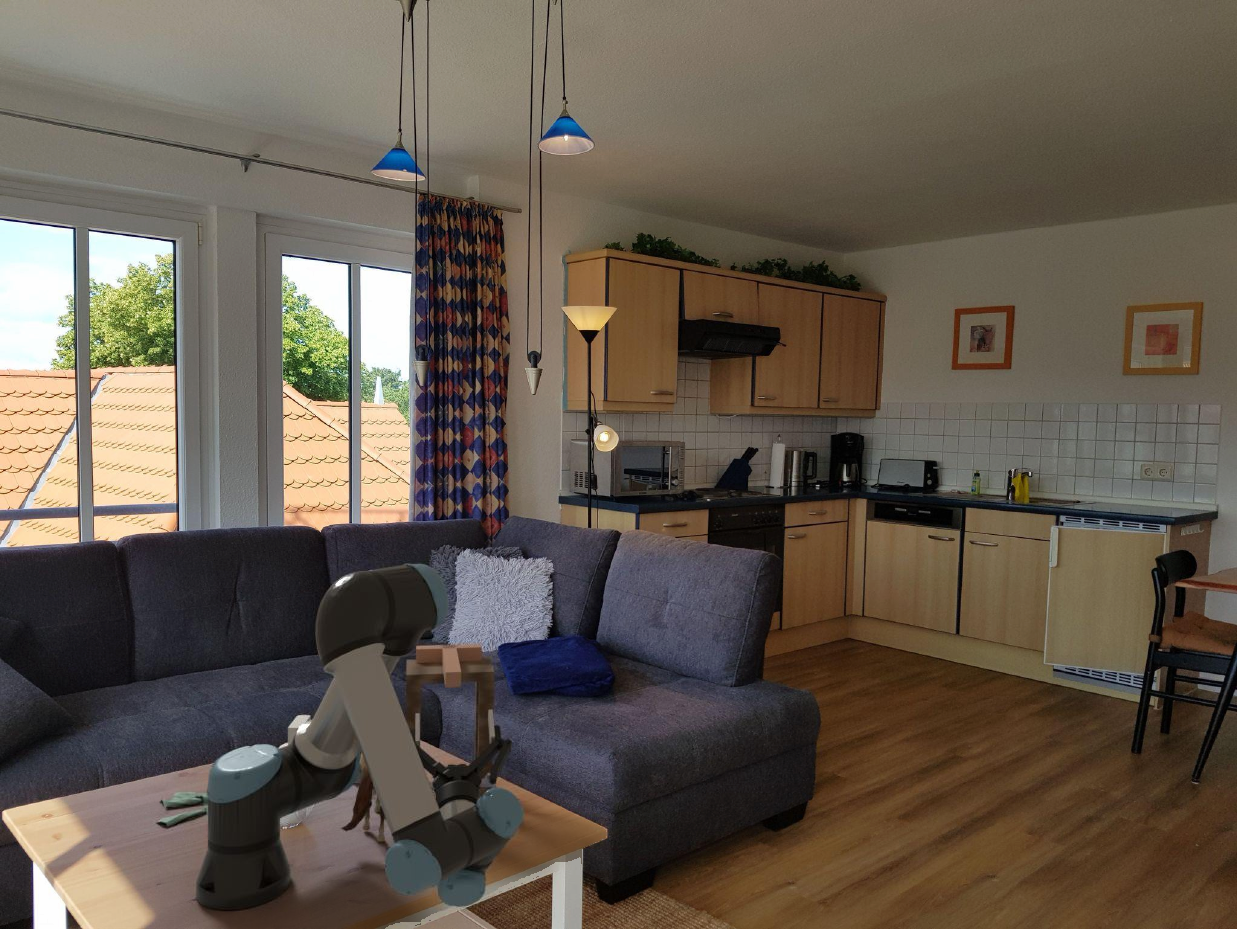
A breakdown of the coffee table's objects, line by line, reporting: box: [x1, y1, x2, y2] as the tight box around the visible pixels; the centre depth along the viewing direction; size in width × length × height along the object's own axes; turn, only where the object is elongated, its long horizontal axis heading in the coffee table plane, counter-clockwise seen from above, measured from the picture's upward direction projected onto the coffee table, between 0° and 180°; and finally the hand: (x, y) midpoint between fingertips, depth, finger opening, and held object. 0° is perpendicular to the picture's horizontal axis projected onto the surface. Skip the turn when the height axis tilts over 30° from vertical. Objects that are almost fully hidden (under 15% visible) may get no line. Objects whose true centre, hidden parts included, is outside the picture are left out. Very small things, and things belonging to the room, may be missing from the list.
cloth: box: [156, 791, 208, 828], centre depth 185 cm, size 20×22×2 cm
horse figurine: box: [340, 753, 386, 843], centre depth 181 cm, size 31×8×21 cm, turn 3°
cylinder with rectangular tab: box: [278, 714, 311, 749], centre depth 206 cm, size 9×9×12 cm
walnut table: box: [405, 656, 495, 797], centre depth 190 cm, size 18×12×30 cm, turn 103°
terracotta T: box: [415, 643, 483, 689], centre depth 185 cm, size 14×22×3 cm, turn 13°
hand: (454, 716), depth 168 cm, fingers open, 13 cm apart
